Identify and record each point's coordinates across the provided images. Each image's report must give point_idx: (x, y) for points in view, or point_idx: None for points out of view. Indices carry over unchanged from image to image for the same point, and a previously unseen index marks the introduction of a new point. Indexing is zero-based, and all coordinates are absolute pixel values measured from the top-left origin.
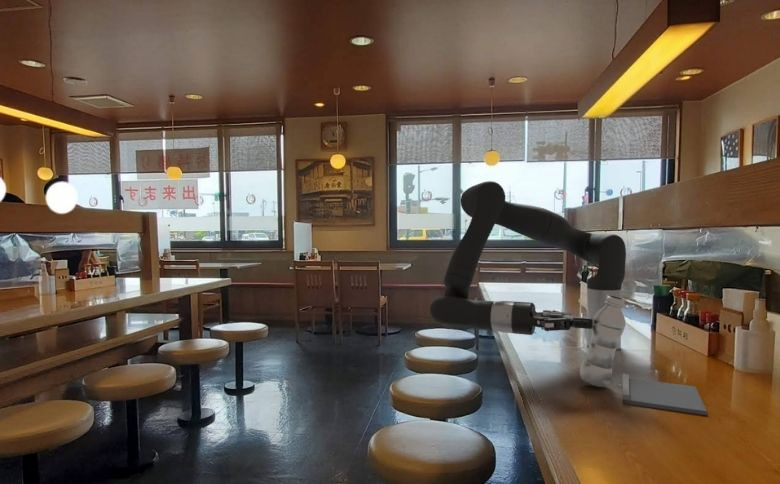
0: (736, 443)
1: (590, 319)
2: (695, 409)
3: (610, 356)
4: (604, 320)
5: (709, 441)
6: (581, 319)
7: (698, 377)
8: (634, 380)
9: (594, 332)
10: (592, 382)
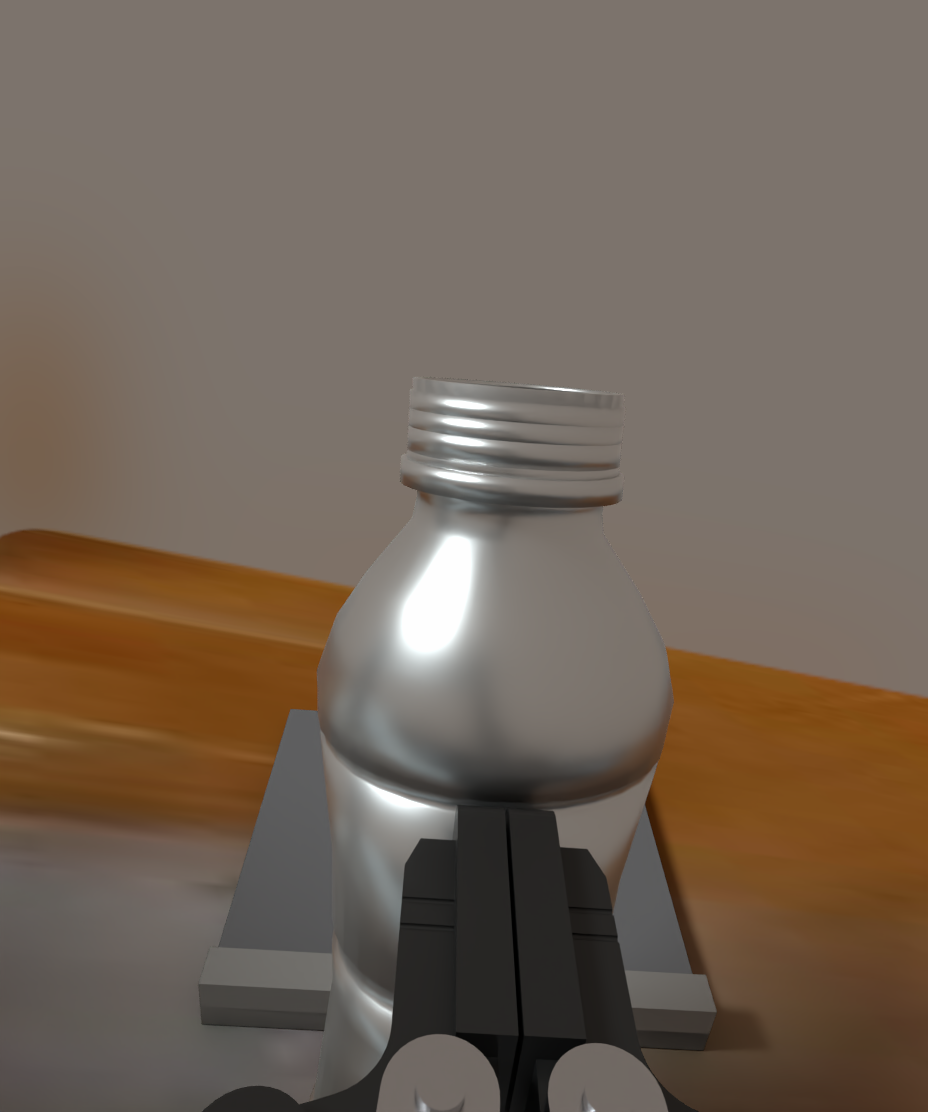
0: (838, 729)
1: (555, 822)
2: None
3: None
4: (668, 692)
5: (897, 784)
6: (570, 938)
7: (67, 682)
8: (255, 937)
9: None
10: None
